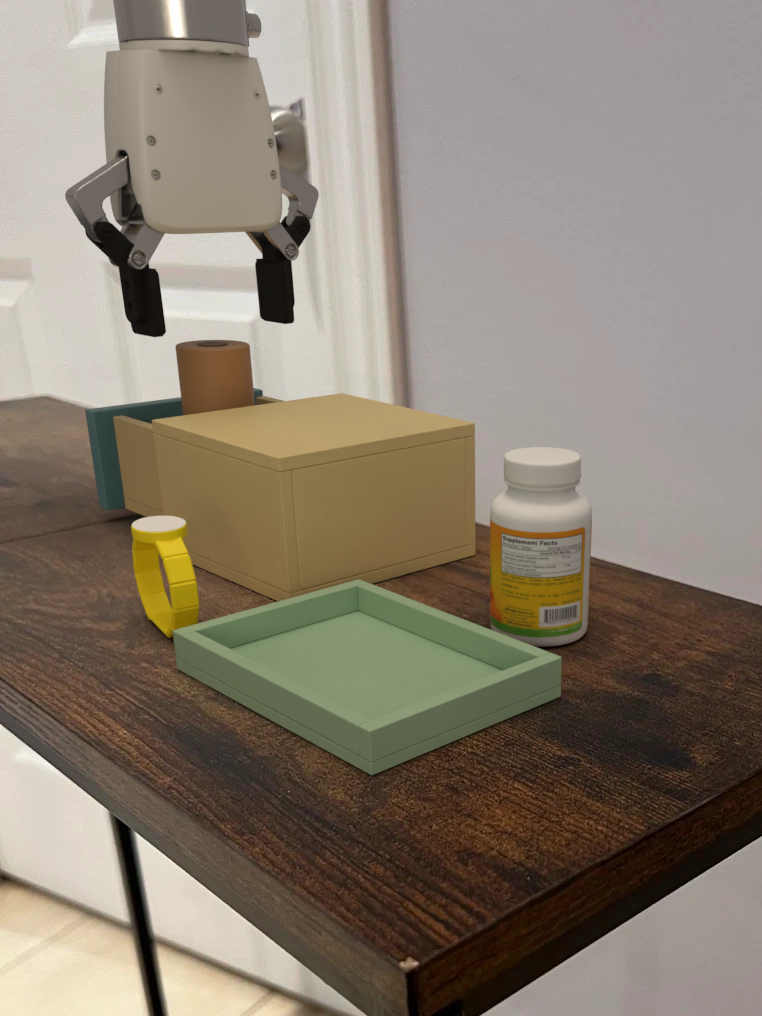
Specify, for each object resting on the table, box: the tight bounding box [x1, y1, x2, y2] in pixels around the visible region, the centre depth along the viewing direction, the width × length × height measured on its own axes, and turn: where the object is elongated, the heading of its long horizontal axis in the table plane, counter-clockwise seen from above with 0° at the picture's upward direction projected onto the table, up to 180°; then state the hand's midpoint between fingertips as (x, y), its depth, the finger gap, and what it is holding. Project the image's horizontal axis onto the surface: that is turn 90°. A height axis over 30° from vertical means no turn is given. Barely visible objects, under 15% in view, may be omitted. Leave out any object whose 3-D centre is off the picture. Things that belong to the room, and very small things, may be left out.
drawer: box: [84, 387, 284, 518], centre depth 81 cm, size 17×13×7 cm
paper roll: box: [175, 339, 255, 415], centre depth 79 cm, size 5×5×10 cm
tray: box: [172, 579, 563, 776], centre depth 56 cm, size 16×12×2 cm
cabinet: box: [152, 392, 476, 602], centre depth 73 cm, size 14×15×9 cm
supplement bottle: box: [489, 446, 593, 648], centre depth 61 cm, size 5×5×10 cm
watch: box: [130, 516, 200, 639], centre depth 61 cm, size 6×3×6 cm, turn 36°
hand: (215, 328), depth 76 cm, fingers open, 9 cm apart
